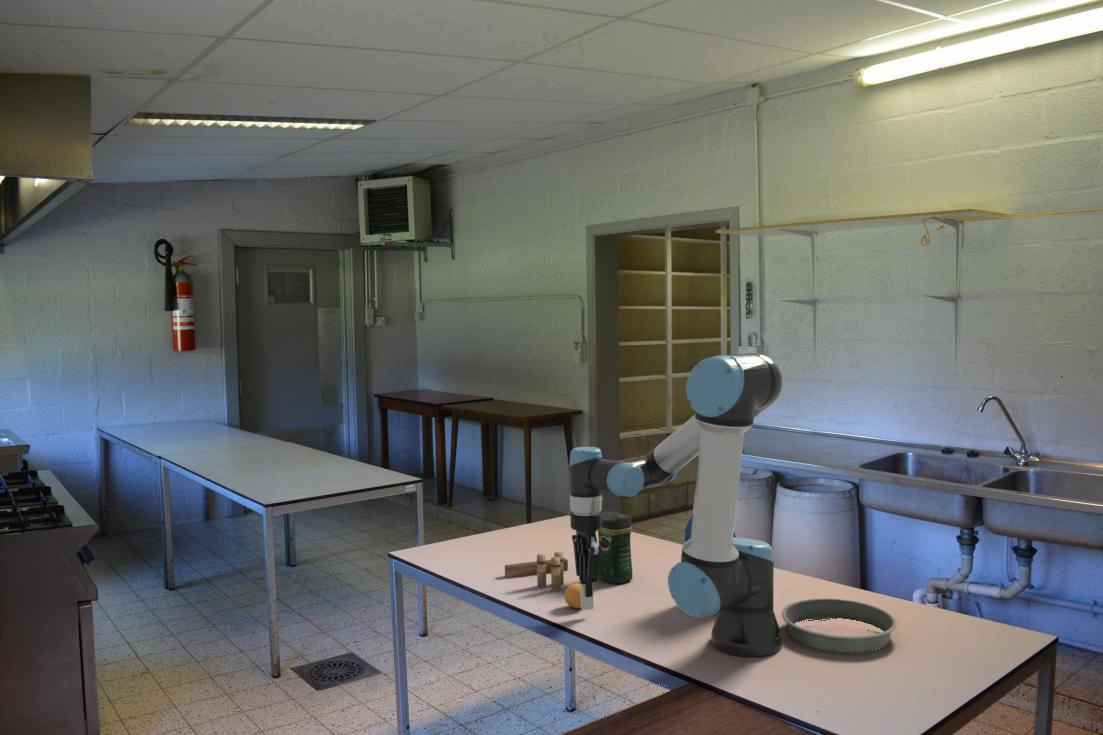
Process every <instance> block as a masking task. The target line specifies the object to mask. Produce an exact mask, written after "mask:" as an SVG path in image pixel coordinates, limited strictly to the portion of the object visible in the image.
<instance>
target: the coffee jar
mask: <svg viewBox="0 0 1103 735" xmlns="http://www.w3.org/2000/svg"><path fill="white" fill-rule="evenodd" d="M600 513H601V514H602V527H601V528H600V529H599V530H597V534H598V535H597V536H598V537H597V538H598V546H601V548H602V550H601V553H600V560H599V570H598V579H600V580H602V581H604V582H606V583H611V584H626V583H628V582H630V581H632V579H633V564H632V549H631V534H632V529H633V526H632V517H631V516H629V515H628V514H627V515H626V514H622V513H618V512H614V511H612V510H609V511H603V512H600Z"/></svg>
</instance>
